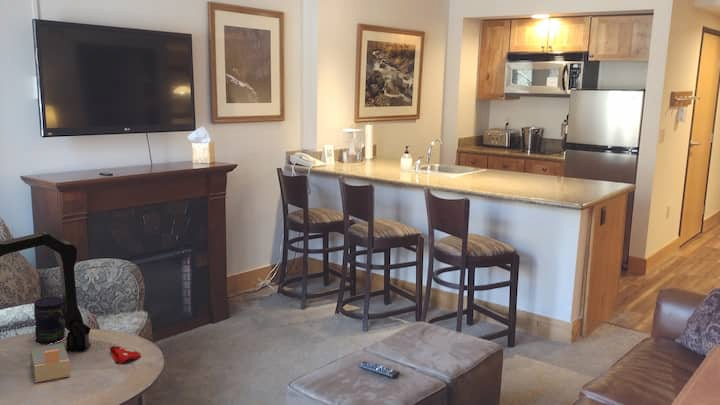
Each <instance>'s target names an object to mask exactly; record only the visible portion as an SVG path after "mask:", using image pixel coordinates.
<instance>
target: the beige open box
mask: <svg viewBox="0 0 720 405" xmlns="http://www.w3.org/2000/svg"><path fill="white" fill-rule="evenodd" d="M34 368H35V380H34V383H40V382H44V381H45V382H46V381H50V380H56V379H61V378H67V377H71V365H70V358H69V359H67V360H61V361H59V349H57V350H51V351H45V363H44V364H39V365H34Z"/></svg>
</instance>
